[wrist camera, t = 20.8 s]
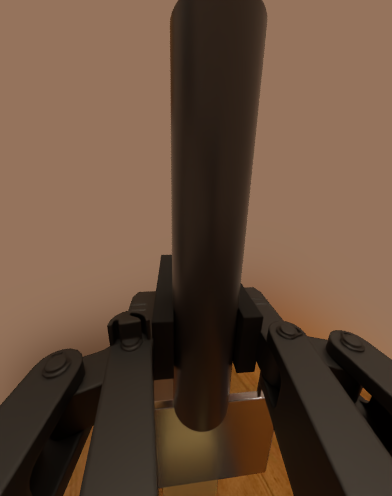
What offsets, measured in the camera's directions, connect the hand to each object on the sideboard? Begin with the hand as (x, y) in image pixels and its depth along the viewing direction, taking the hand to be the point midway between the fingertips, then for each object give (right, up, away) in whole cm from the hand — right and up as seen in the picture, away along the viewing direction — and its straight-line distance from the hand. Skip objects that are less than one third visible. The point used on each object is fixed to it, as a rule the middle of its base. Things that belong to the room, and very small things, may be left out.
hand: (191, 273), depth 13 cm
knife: (0, -11, -2) cm, 12 cm away
